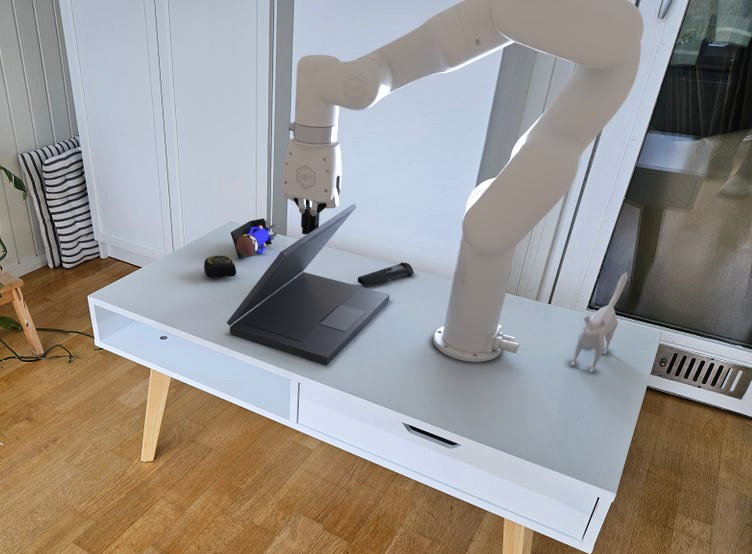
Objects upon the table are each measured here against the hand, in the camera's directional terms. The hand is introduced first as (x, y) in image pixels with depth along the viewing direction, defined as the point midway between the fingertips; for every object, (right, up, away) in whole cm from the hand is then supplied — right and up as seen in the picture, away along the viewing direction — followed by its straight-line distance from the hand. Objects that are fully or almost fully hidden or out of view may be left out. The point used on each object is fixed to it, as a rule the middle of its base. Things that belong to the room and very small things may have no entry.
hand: (309, 232), depth 121 cm
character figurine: (-12, +2, +37) cm, 39 cm away
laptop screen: (-3, -5, +5) cm, 8 cm away
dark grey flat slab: (+1, -16, +9) cm, 18 cm away
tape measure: (-19, -5, +25) cm, 31 cm away
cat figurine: (+53, -24, -2) cm, 58 cm away
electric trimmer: (+19, -6, +24) cm, 32 cm away
